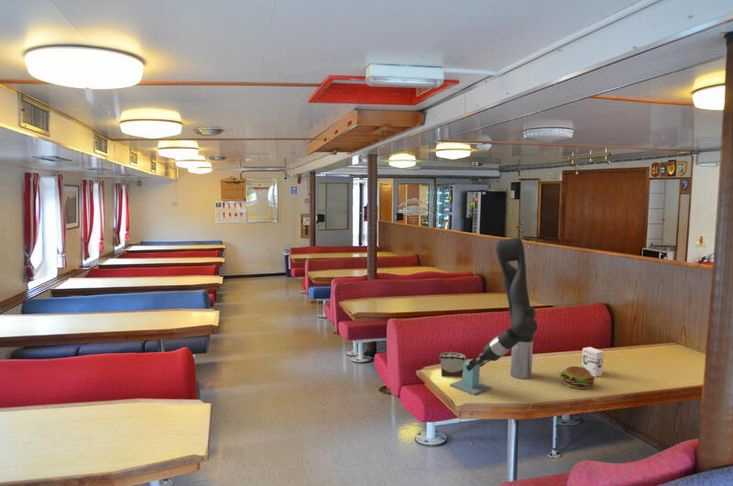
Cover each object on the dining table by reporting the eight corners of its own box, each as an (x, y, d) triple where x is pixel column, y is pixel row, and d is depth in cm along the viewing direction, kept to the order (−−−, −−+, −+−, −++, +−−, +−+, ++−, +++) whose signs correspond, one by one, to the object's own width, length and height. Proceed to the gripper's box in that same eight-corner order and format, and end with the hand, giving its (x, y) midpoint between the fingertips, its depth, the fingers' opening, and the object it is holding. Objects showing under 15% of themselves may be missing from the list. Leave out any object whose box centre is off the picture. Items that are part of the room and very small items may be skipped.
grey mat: (466, 379, 230) (466, 378, 230) (490, 388, 221) (490, 386, 221) (449, 386, 222) (449, 384, 222) (474, 395, 213) (474, 393, 213)
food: (574, 377, 238) (575, 360, 237) (599, 387, 225) (601, 370, 225) (552, 381, 232) (553, 364, 231) (578, 392, 219) (579, 374, 218)
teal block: (469, 382, 225) (470, 360, 224) (478, 385, 221) (479, 363, 220) (462, 385, 221) (463, 363, 221) (472, 388, 218) (473, 366, 217)
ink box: (580, 371, 246) (582, 347, 245) (587, 369, 248) (589, 346, 247) (595, 377, 238) (596, 352, 237) (602, 375, 241) (604, 351, 239)
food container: (464, 373, 239) (465, 352, 238) (465, 377, 233) (466, 356, 232) (437, 371, 240) (438, 351, 239) (438, 376, 234) (439, 355, 233)
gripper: (502, 336, 217) (478, 356, 226) (482, 342, 207) (458, 362, 217) (512, 352, 213) (487, 371, 223) (492, 358, 204) (468, 378, 213)
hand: (473, 366), depth 220 cm, fingers open, 8 cm apart
